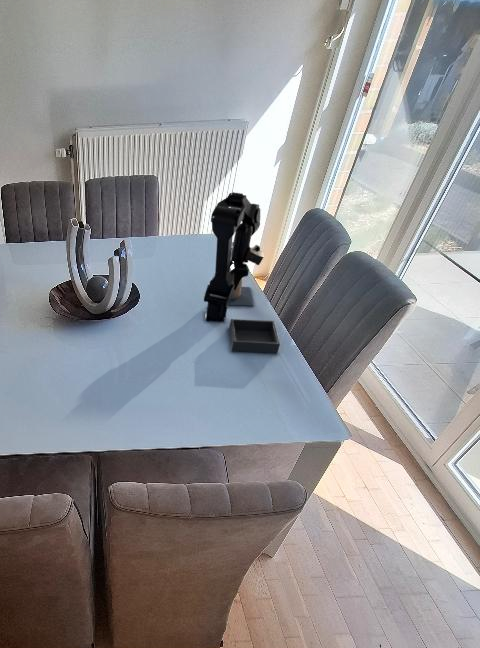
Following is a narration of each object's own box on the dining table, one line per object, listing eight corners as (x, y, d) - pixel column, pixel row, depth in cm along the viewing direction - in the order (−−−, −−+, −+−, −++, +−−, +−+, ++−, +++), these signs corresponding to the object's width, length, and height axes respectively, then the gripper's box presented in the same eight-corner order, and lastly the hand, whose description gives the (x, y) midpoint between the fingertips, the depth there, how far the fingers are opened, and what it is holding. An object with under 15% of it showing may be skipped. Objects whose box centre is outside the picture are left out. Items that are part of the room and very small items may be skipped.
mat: (212, 304, 174) (212, 303, 173) (210, 286, 184) (211, 285, 183) (252, 306, 172) (252, 305, 172) (249, 288, 182) (249, 287, 182)
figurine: (234, 288, 181) (241, 258, 171) (243, 297, 176) (251, 266, 167) (218, 291, 179) (224, 261, 170) (227, 300, 175) (234, 270, 166)
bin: (231, 351, 151) (233, 341, 149) (228, 329, 161) (230, 318, 158) (276, 354, 150) (280, 343, 147) (271, 331, 160) (274, 320, 157)
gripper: (268, 253, 156) (257, 296, 167) (262, 232, 168) (252, 274, 180) (234, 252, 157) (226, 295, 168) (231, 231, 170) (224, 273, 181)
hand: (233, 284), depth 174 cm, fingers open, 8 cm apart
